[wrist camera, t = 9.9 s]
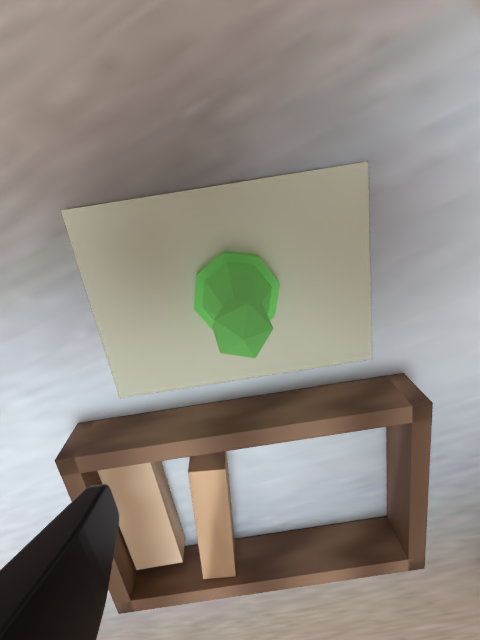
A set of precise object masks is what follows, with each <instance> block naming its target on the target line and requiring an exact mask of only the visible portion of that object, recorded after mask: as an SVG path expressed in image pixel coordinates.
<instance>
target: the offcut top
mask: <svg viewBox="0 0 480 640" xmlns="http://www.w3.org/2000/svg"><path fill="white" fill-rule="evenodd" d="M188 475H189V482H190V489H191V496H192V503H193V510H194V517H195V524H196V531H197V538H198V545H199V552H200V559H201V566H202V573H203V579H211V578H222V577H233V576H236V571H235V543H234V529H233V518H232V507H231V496H230V485H229V474H228V464H227V453H226V451H223V452H216V453H210V454H203V455H196V456H190V461H189V469H188Z"/></svg>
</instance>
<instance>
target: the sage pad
mask: <svg viewBox="0 0 480 640" xmlns="http://www.w3.org/2000/svg"><path fill="white" fill-rule="evenodd" d="M61 213H62V216H63V219H64V222H65V226H66V229H67V232H68V235H69V238H70V242H71V245H72V248H73V251H74V254H75V258H76V261H77V264H78V267H79V270H80V274H81V277H82V280H83V283H84V286H85V290H86V293H87V296H88V299H89V302H90V305H91V309H92V312H93V315H94V318H95V321H96V325H97V328H98V331H99V334H100V337H101V341H102V344H103V347H104V350H105V353H106V357H107V360H108V363H109V366H110V369H111V373H112V376H113V379H114V382H115V385H116V389H117V392H118V395H119V398H125V397H132V396H138V395H145V394H151V393H158V392H164V391H171V390H177V389H183V388H190V387H196V386H203V385H209V384H216V383H222V382H229V381H235V380H242V379H248V378H255V377H261V376H268V375H274V374H281V373H287V372H294V371H300V370H307V369H313V368H320V367H326V366H333V365H339V364H346V363H352V362H359V361H365V360H372V331H371V281H370V231H369V181H368V162H362V163H355V164H349V165H343V166H336V167H330V168H324V169H318V170H311V171H305V172H299V173H293V174H286V175H280V176H274V177H267V178H261V179H255V180H249V181H242V182H236V183H230V184H224V185H217V186H211V187H205V188H198V189H192V190H186V191H180V192H173V193H167V194H161V195H155V196H148V197H142V198H136V199H129V200H123V201H117V202H111V203H104V204H98V205H92V206H85V207H79V208H73V209H67V210H61ZM223 251H230V252H239V253H248V254H257V255H258V256H259V257H260V258H261V260H262V261H263V262H264V263H265V265H266V266H267V267H268V269H269V270H270V271H271V272H272V274H273V275H274V276H275V278H276V279H277V280H278V282H279V284H280V288H279V294H278V300H277V306H276V313H275V317H274V318H273V319H271V320H270V322H271V324H272V326H273V330H272V332H271V334H270V335H269V337H268V339H267V340H266V342H265V344H264V345H263V347H262V349H261V350H260V352H259V354H258V355H257V357H256V358H250V357H243V356H236V355H229V354H222V353H220V351H219V348H218V344H217V341H216V338H215V335H214V332H213V330H212V329H211V328H210V327H209V326H208V324H207V323H206V322H205V321H204V320H203V319H202V318H201V317H200V315H199V314H198V313H197V312H196V311H195V310H194V299H195V286H196V275H197V272H198V271H199V270H201V269H202V268H203V267H204V266H206V265H207V264H208V263H209V262H210V261H212V260H213V259H214V258H215V257H217V256H218V255H219V254H220V253H222V252H223Z"/></svg>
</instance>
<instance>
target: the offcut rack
mask: <svg viewBox="0 0 480 640" xmlns="http://www.w3.org/2000/svg"><path fill="white" fill-rule="evenodd" d="M432 405H433V403H432V402H431V401H430V400H429V399H428V398H427V397H426V396H425V395H424V394H423V393H422V392H421V391H420V390H419V389H418V388H417V386H416V385H415V384H414V383H413V382H412V381H411V380H410V379H409V378H408V377H407V376H406V375H405V374H404V373H403V374H397V375H390V376H384V377H377V378H370V379H364V380H357V381H351V382H344V383H338V384H331V385H325V386H318V387H312V388H305V389H299V390H292V391H286V392H279V393H273V394H266V395H260V396H253V397H247V398H240V399H234V400H227V401H221V402H214V403H208V404H201V405H195V406H188V407H182V408H175V409H169V410H162V411H156V412H149V413H143V414H136V415H129V416H123V417H116V418H110V419H103V420H97V421H90V422H84V423H78V424H77V425H76V427H75V429H74V430H73V432H72V434H71V435H70V437H69V438H68V440H67V442H66V443H65V445H64V446H63V448H62V450H61V451H60V453H59V455H58V456H57V458H56V459H55V462H56V465H57V467H58V470H59V472H60V474H61V477H62V479H63V482H64V484H65V486H66V489H67V491H68V494H69V496H70V498H71V501H73V500H75V499H76V498H77V497H78V496H79V495H80V494H81V493H82V492H83V491H84V490H85V489H86V488H88V487H90V486H94V485H101V484H102V482H101V479H100V477H99V474H98V472H97V471H98V470H104V469H111V468H118V467H124V466H131V465H137V464H144V463H150V462H157V461H164V460H170V459H177V458H183V457H190V456H196V455H203V454H210V453H216V452H223V451H229V450H236V449H242V448H249V447H256V446H262V445H269V444H275V443H282V442H288V441H295V440H302V439H308V438H315V437H321V436H328V435H334V434H341V433H348V432H354V431H361V430H367V429H374V428H380V427H387V517H381V518H374V519H367V520H361V521H354V522H347V523H341V524H334V525H327V526H321V527H314V528H307V529H301V530H294V531H287V532H280V533H274V534H267V535H260V536H254V537H247V538H240V539H234V543H235V571H236V576H233V577H222V578H211V579H203V573H202V566H201V559H200V552H199V545H194V546H187V547H184V556H183V562H181V563H175V564H169V565H163V566H157V567H152V568H146V569H140V570H136V567H135V565H134V562H133V560H132V557H131V555H130V552H129V550H128V547H127V545H126V542H125V539H124V537H123V534H122V532H121V529H120V527H118V533H117V539H116V545H115V551H114V557H113V563H112V569H111V575H110V581H109V587H108V589H109V592H110V594H111V596H112V599H113V601H114V604H115V606H116V608H117V611H118V613H119V614H120V613H127V612H134V611H141V610H147V609H154V608H161V607H168V606H174V605H181V604H188V603H195V602H201V601H208V600H215V599H222V598H228V597H235V596H242V595H249V594H255V593H262V592H269V591H276V590H282V589H289V588H296V587H303V586H309V585H316V584H323V583H330V582H336V581H343V580H350V579H357V578H363V577H370V576H377V575H384V574H390V573H397V572H404V571H411V570H417V569H424V567H425V547H426V527H427V507H428V486H429V466H430V446H431V425H432Z"/></svg>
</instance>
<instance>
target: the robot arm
mask: <svg viewBox="0 0 480 640" xmlns="http://www.w3.org/2000/svg"><path fill="white" fill-rule="evenodd" d="M118 527H119V511H118V508H117V505H116V503H115V500H114V497H113V494H112V491H111V489H110V487H109V486H108V485H107V484H101V485H94V486H90V487H88V488H86V489H85V490H84V491H83V492H82V493H81V494H80V495H79V496H78V497H77V498H76V499H75V500H73V501H72V502H71V503H70V504H69V505H68V506H67V507H66V508H65V509H64V510H63V511H62V512H61V513H60V514H59V515H58V516H57V517H56V518H55V519H54V520H52V521H51V522H50V523H49V524H48V525H47V526H46V527H45V528H44V529H43V530H42V531H41V532H40V533H39V534H38V535H37V536H36V537H35V538H34V539H33V540H31V541H30V542H29V543H28V544H27V545H26V546H25V547H24V548H23V549H22V550H21V551H20V552H19V553H18V554H17V555H16V556H15V557H14V558H13V559H12V560H10V561H9V562H8V563H7V564H6V565H5V566H4V567H3V568H2V569H1V570H0V640H96V638H97V634H98V630H99V627H100V623H101V619H102V615H103V611H104V607H105V603H106V598H107V592H108V587H109V581H110V575H111V569H112V563H113V557H114V551H115V545H116V539H117V533H118Z"/></svg>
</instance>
